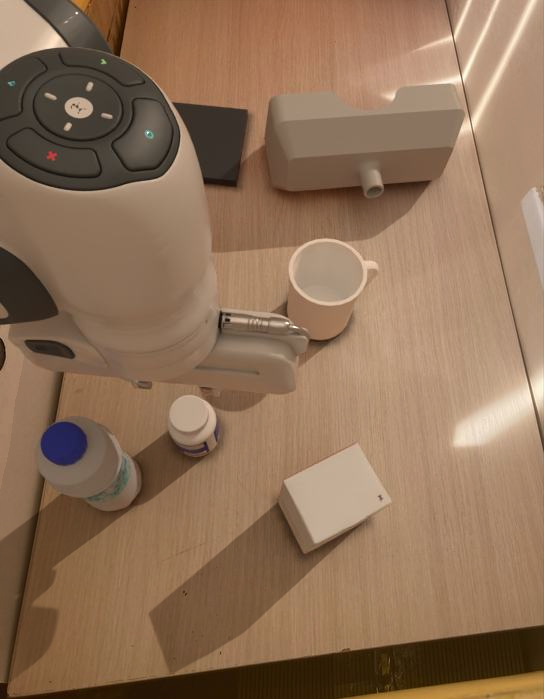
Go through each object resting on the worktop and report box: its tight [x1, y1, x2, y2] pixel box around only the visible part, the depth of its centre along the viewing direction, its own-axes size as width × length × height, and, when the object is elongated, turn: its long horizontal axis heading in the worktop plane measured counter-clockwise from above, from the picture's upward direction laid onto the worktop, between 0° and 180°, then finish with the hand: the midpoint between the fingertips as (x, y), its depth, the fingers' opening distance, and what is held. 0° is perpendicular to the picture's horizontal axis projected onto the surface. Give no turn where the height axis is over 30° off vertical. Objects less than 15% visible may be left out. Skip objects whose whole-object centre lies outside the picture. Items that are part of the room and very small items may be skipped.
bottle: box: [34, 415, 142, 512], centre depth 51 cm, size 7×7×20 cm
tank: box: [264, 82, 466, 199], centre depth 74 cm, size 25×16×12 cm, turn 97°
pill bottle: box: [166, 394, 221, 458], centre depth 59 cm, size 5×5×9 cm
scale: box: [171, 101, 249, 188], centre depth 79 cm, size 15×15×3 cm
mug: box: [286, 237, 380, 342], centre depth 65 cm, size 11×9×10 cm
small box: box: [277, 442, 393, 555], centre depth 54 cm, size 8×6×13 cm
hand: (178, 384), depth 47 cm, fingers open, 5 cm apart
